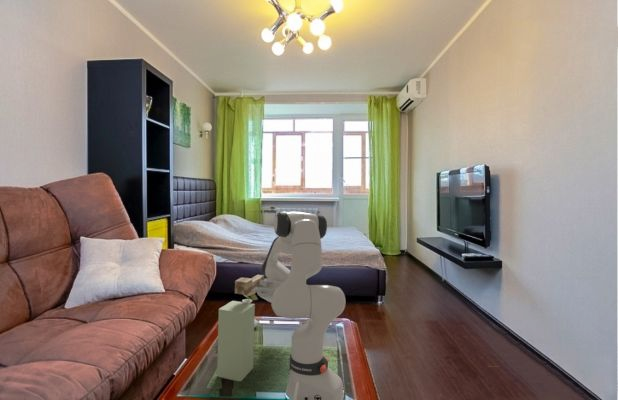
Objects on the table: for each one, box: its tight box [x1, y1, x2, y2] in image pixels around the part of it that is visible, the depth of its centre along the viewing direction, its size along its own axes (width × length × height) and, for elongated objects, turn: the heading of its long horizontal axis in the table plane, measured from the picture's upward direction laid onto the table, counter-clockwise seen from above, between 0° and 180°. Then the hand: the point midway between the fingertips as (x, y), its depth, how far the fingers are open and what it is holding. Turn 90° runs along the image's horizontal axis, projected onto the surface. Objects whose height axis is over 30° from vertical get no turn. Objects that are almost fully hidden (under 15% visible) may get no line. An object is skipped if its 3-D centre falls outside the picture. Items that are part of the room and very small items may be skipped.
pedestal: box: [216, 300, 256, 382], centre depth 131 cm, size 10×10×26 cm
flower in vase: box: [241, 290, 259, 329], centre depth 171 cm, size 13×11×25 cm
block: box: [234, 274, 265, 296], centre depth 141 cm, size 5×18×5 cm, turn 162°
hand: (254, 280), depth 144 cm, fingers closed on block, 3 cm apart
